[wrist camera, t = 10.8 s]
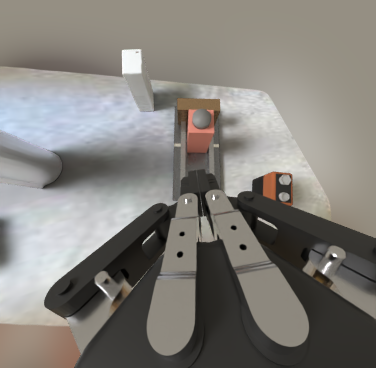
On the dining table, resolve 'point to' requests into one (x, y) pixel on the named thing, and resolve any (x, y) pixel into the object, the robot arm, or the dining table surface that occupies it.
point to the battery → (275, 187)
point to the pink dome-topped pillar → (200, 130)
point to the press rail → (181, 157)
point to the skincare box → (138, 79)
